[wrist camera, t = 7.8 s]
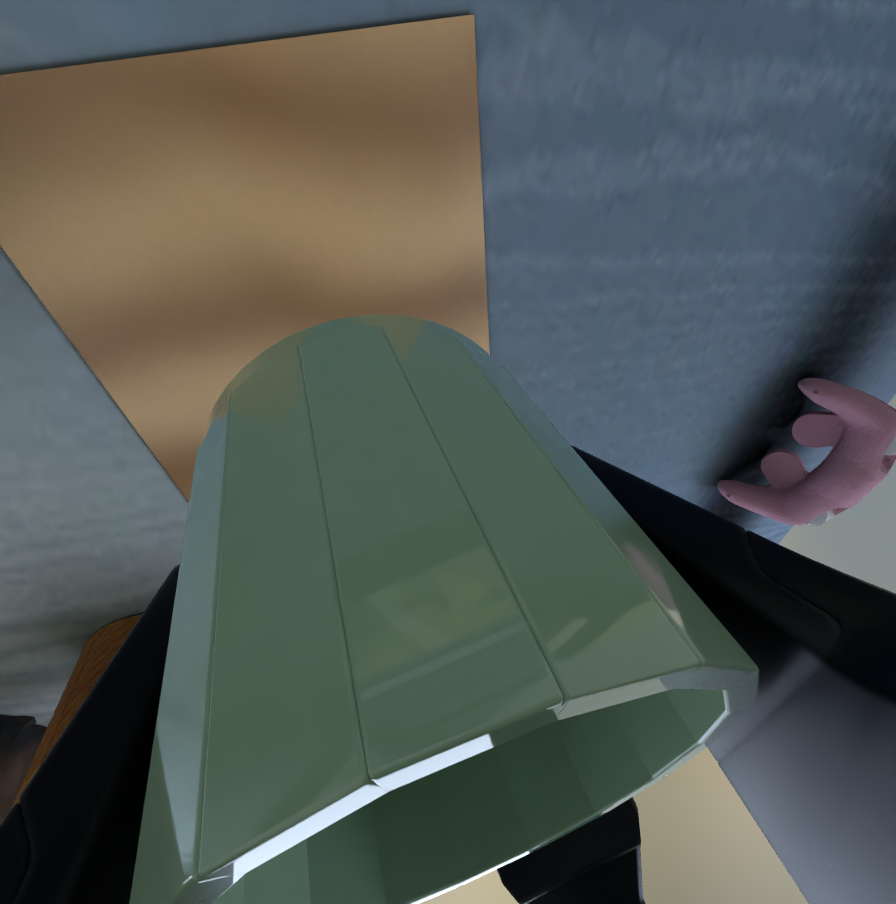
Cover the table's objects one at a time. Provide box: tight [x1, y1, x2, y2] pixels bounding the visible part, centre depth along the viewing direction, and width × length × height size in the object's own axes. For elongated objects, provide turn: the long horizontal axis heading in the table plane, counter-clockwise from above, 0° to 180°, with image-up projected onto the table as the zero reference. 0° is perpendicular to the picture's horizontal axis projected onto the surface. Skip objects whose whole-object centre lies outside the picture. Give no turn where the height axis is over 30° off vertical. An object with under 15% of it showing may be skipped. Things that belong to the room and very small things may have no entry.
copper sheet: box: [0, 14, 490, 501], centre depth 16 cm, size 14×14×1 cm
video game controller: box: [717, 378, 896, 526], centre depth 30 cm, size 10×5×7 cm, turn 163°
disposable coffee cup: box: [11, 614, 142, 808], centre depth 20 cm, size 10×10×12 cm
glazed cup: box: [129, 314, 759, 904], centre depth 7 cm, size 7×7×6 cm
